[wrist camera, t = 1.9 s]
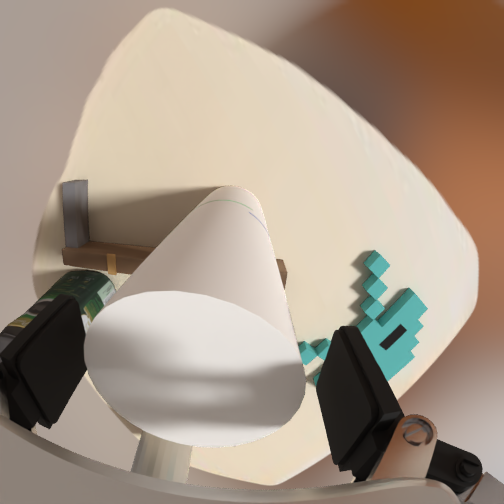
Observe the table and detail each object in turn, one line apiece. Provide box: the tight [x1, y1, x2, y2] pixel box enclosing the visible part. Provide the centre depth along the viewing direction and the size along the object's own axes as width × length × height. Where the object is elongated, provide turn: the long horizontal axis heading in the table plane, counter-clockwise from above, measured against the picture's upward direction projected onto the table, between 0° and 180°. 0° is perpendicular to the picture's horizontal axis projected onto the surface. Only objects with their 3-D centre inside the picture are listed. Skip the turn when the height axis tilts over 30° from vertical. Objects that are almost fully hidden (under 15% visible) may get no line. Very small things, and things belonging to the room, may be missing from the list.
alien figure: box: [298, 250, 428, 385], centre depth 37 cm, size 20×2×20 cm
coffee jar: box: [0, 271, 116, 363], centre depth 26 cm, size 10×8×19 cm
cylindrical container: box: [84, 186, 306, 448], centre depth 19 cm, size 7×7×25 cm
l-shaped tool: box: [62, 180, 287, 290], centre depth 29 cm, size 10×27×4 cm, turn 84°
